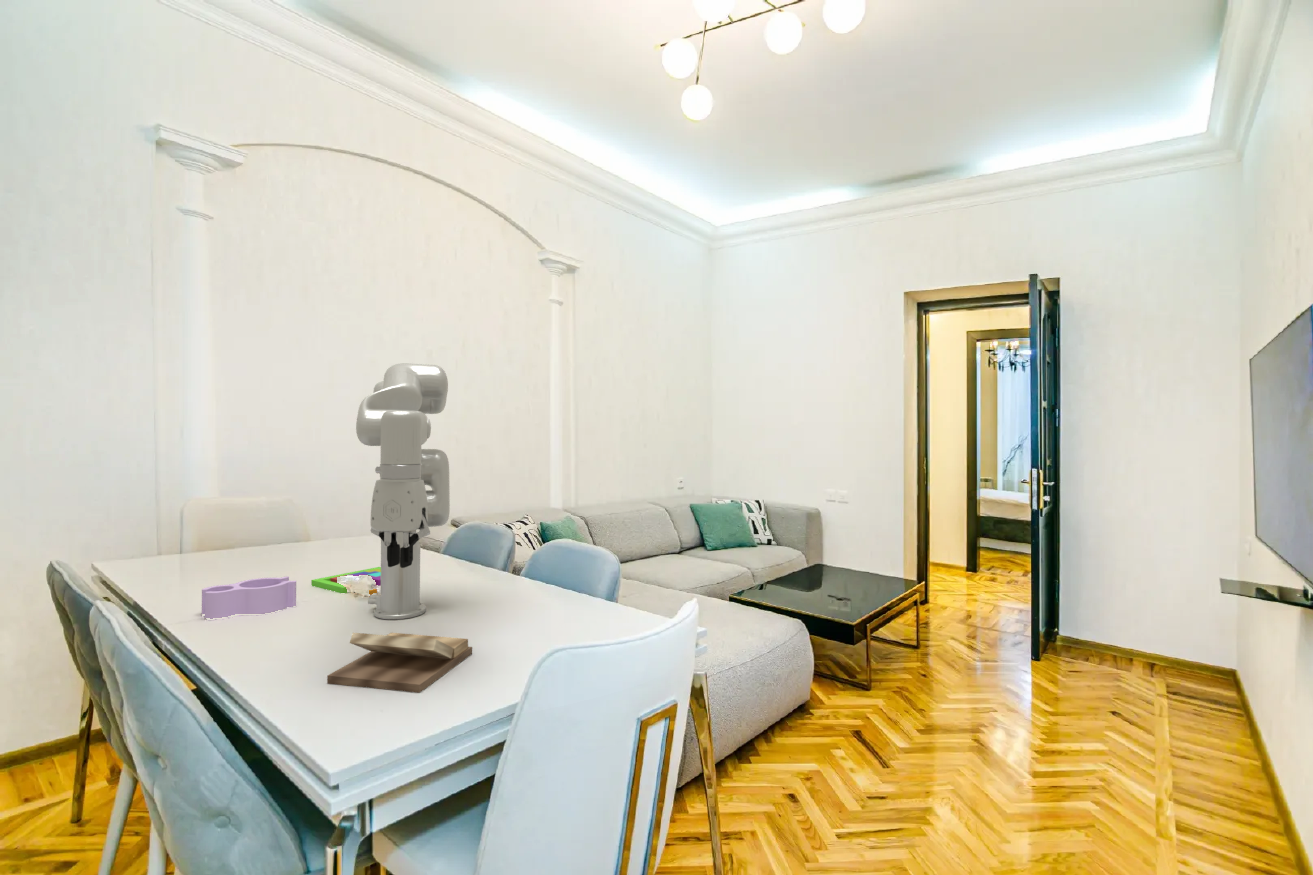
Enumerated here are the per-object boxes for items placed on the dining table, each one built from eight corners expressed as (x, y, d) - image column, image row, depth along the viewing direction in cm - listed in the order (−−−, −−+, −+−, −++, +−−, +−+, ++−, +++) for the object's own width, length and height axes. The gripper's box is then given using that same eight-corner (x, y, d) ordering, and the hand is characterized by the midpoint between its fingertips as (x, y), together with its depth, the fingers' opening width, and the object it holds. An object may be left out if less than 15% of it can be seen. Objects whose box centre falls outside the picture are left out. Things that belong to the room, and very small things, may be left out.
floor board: (327, 683, 124) (327, 665, 124) (391, 646, 144) (391, 631, 144) (419, 692, 120) (419, 673, 120) (472, 653, 141) (472, 637, 141)
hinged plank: (349, 642, 129) (352, 632, 130) (370, 651, 136) (373, 641, 137) (433, 650, 126) (436, 639, 127) (451, 658, 133) (453, 648, 134)
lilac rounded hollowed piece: (208, 624, 158) (208, 596, 158) (198, 613, 167) (198, 586, 167) (299, 609, 172) (299, 583, 172) (285, 599, 181) (285, 574, 181)
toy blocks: (311, 587, 196) (362, 600, 183) (311, 580, 196) (362, 592, 183) (379, 573, 215) (429, 584, 202) (379, 566, 215) (429, 577, 202)
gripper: (352, 473, 127) (351, 567, 128) (427, 475, 125) (426, 572, 125) (375, 470, 135) (375, 560, 135) (447, 473, 132) (446, 564, 132)
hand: (399, 565), depth 130 cm, fingers closed
